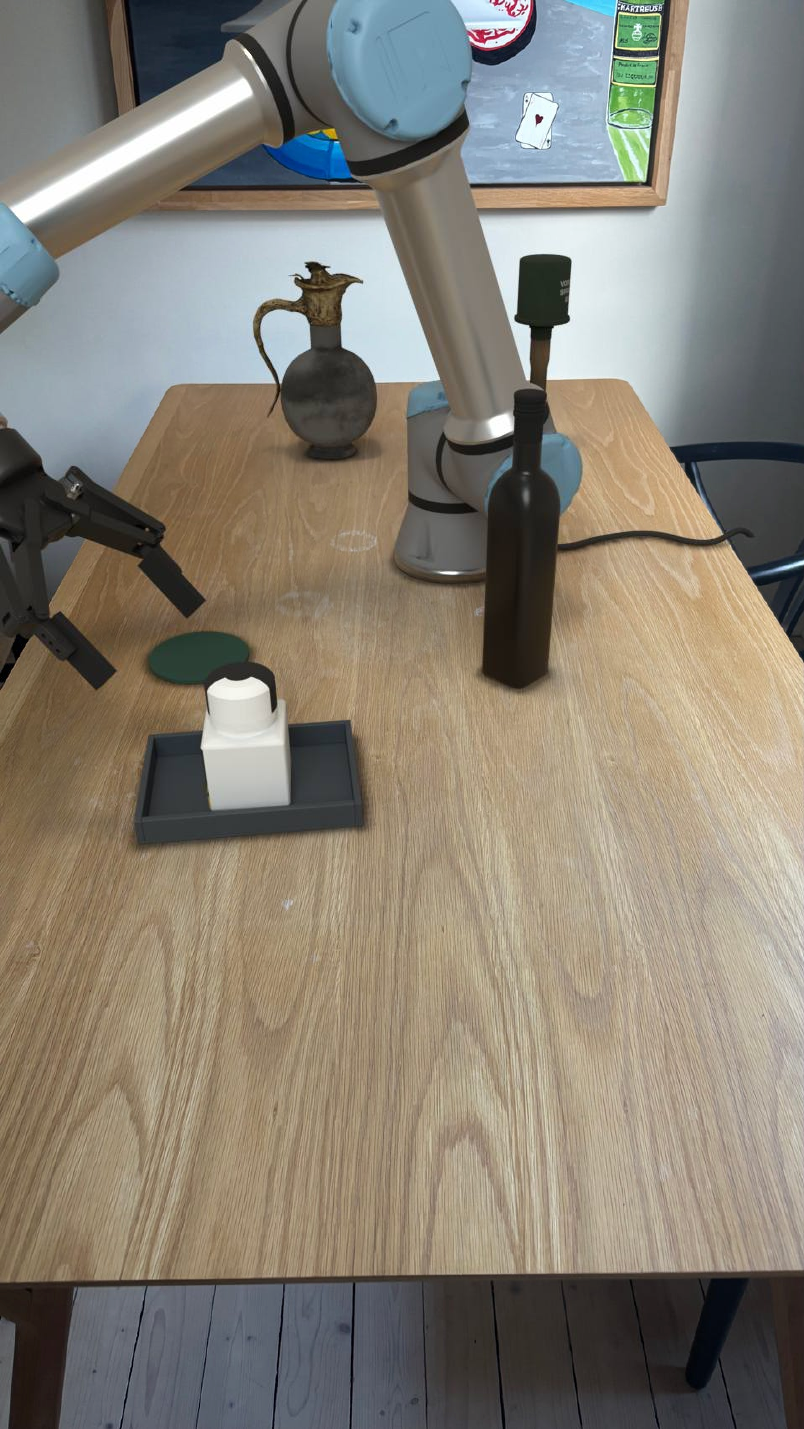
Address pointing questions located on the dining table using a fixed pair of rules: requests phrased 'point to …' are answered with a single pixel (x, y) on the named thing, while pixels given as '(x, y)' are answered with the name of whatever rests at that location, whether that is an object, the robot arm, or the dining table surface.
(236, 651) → the coaster
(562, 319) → the stick grenade
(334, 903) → the dining table surface
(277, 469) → the dining table surface
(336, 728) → the tray
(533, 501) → the wine bottle
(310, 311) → the pitcher
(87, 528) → the robot arm
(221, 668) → the medicine bottle
